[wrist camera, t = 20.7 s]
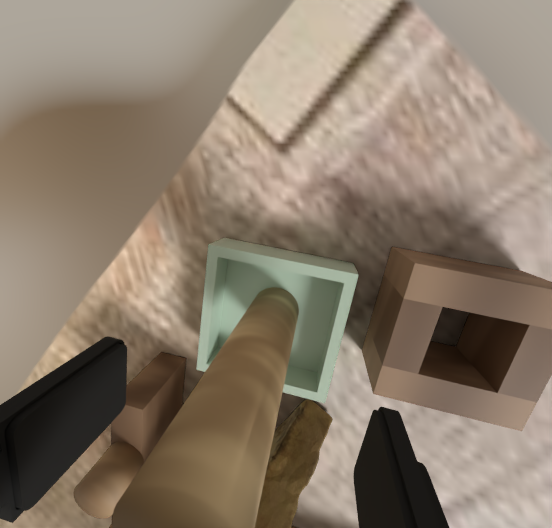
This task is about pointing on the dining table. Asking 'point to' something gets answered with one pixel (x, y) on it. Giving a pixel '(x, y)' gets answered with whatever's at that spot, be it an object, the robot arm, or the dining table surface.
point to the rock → (291, 464)
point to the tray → (296, 280)
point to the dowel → (220, 431)
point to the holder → (461, 338)
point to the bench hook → (134, 434)
